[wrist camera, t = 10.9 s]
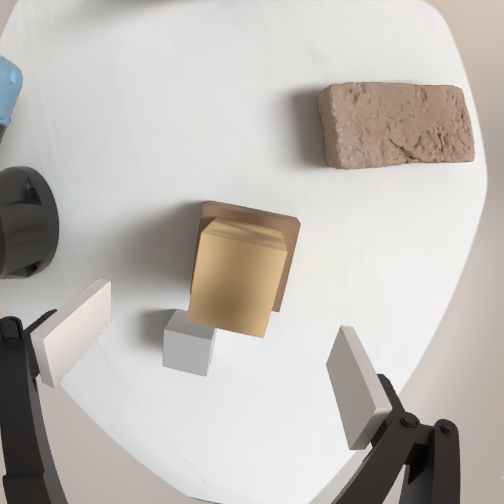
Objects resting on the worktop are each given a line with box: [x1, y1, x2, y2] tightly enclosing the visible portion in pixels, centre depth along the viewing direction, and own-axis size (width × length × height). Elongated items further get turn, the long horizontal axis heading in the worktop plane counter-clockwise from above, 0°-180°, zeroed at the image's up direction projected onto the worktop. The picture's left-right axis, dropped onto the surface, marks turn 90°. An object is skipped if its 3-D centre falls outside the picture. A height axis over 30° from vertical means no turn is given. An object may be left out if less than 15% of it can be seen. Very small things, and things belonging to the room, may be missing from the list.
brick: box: [318, 82, 475, 170], centre depth 25 cm, size 17×8×5 cm, turn 100°
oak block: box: [187, 217, 287, 338], centre depth 25 cm, size 6×7×7 cm
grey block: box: [163, 309, 217, 376], centre depth 32 cm, size 5×5×5 cm
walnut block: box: [190, 201, 300, 312], centre depth 30 cm, size 9×9×4 cm
